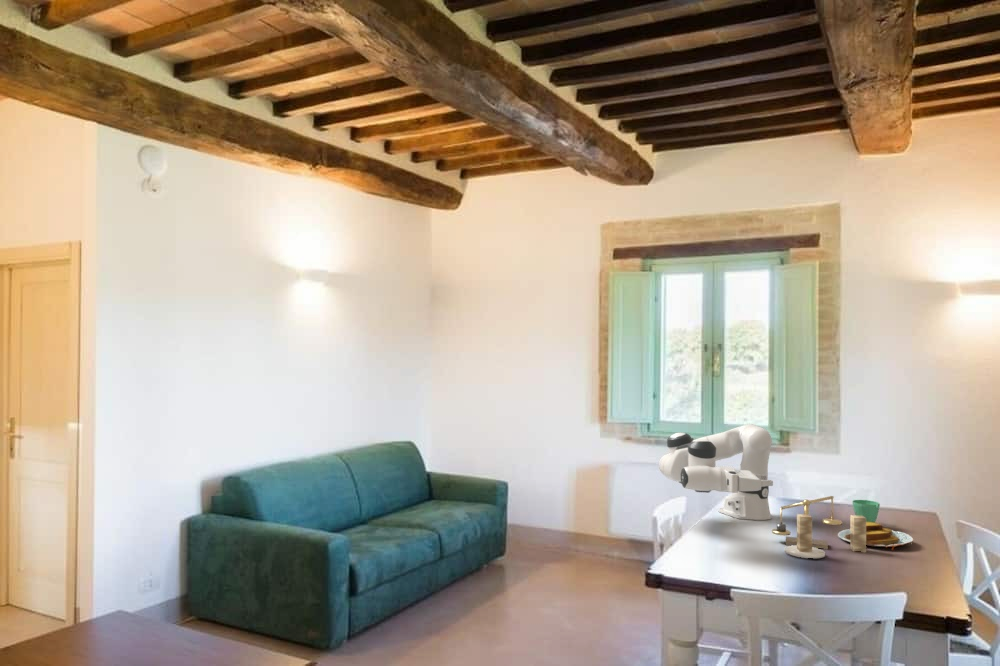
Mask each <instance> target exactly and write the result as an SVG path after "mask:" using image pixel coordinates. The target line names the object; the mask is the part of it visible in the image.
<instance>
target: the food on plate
mask: <svg viewBox="0 0 1000 666" xmlns="http://www.w3.org/2000/svg"><path fill="white" fill-rule="evenodd" d="M837 537H838V538H840V539H841V540H843V541H846V542H849V543H850V528H848V529H847V528H846V529H843V530H841V531H838V533H837ZM844 537H845V538H844ZM913 541H914V538H913V536H911V535H910V534H908V533H905V532H902V531H895V530H893V529H890V528H885V527H884V526H883V525H882V524H881V523H878V522H875V523H874V522H866V545H867V546H866V547H881V548H882V547H883V548H884V547H885V548H888V547H892V548H890V549H891V551H895V547H898V546H904V545H907V544H910V545H913V543H912V542H913Z"/></svg>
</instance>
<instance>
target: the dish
mask: <svg viewBox="0 0 1000 666" xmlns="http://www.w3.org/2000/svg"><path fill="white" fill-rule="evenodd" d="M784 553H785V554H787V555H790V556H792V557H796V558H800V557H801V559H808V558H813V559H822V558H824V557H826V552H825V551H824V549H818V548H814V547H812V552H800V551H799V550H798V549H797V545H793V546H790V545H786V546H785V547H784Z"/></svg>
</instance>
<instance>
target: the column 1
mask: <svg viewBox="0 0 1000 666" xmlns="http://www.w3.org/2000/svg"><path fill="white" fill-rule="evenodd" d="M796 538H797V549H798V550H799V551H800V552H812V539H813V517H812V516H811V515H810V514H809V515H805V514H804V513H803V514H801V513H796Z"/></svg>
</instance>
